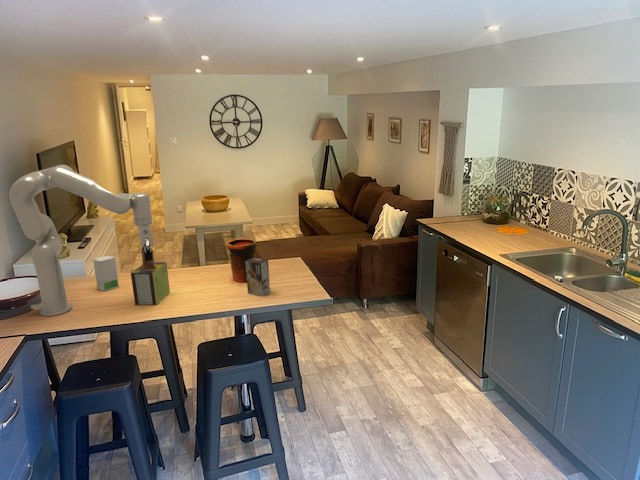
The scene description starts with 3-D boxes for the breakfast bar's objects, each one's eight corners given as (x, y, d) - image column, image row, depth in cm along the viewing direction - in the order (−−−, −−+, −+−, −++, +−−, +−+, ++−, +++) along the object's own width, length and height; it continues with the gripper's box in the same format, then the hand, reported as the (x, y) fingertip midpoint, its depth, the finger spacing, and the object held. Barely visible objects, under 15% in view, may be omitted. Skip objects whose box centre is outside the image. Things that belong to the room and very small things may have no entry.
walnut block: (144, 269, 215) (142, 252, 213) (143, 266, 219) (141, 249, 217) (154, 267, 217) (152, 250, 215) (153, 264, 221) (151, 248, 219)
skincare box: (103, 292, 231) (99, 261, 227) (96, 289, 235) (91, 259, 231) (119, 286, 238) (115, 256, 233) (112, 284, 241) (108, 254, 237)
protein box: (170, 292, 229) (166, 261, 225) (156, 305, 214) (152, 272, 210) (149, 292, 230) (145, 261, 226) (134, 304, 215) (129, 272, 211)
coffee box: (270, 291, 227) (269, 259, 222) (263, 296, 221) (261, 263, 217) (254, 288, 231) (252, 257, 227) (246, 293, 226) (244, 261, 221)
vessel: (225, 277, 247) (223, 240, 242) (252, 273, 253) (250, 237, 248) (232, 286, 235) (231, 247, 229) (260, 282, 241) (259, 243, 235)
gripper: (154, 224, 206) (159, 261, 211) (149, 216, 221) (153, 251, 226) (136, 226, 203) (141, 264, 208) (132, 218, 218) (137, 254, 223)
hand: (147, 257), depth 217 cm, fingers open, 9 cm apart
